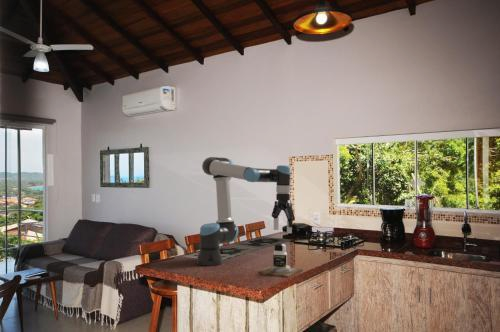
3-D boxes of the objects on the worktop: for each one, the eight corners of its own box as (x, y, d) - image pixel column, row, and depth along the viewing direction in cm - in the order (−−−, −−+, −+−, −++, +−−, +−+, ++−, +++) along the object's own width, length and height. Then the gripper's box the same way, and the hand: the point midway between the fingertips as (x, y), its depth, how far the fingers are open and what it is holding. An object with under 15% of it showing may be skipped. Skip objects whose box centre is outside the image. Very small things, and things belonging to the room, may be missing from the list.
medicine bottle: (273, 267, 197) (273, 245, 198) (274, 264, 204) (274, 242, 205) (286, 268, 196) (286, 245, 197) (287, 265, 203) (286, 243, 204)
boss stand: (258, 273, 197) (258, 267, 197) (274, 266, 212) (274, 261, 213) (288, 277, 188) (288, 271, 188) (302, 270, 203) (302, 265, 203)
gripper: (301, 194, 195) (301, 234, 194) (277, 192, 217) (276, 228, 216) (290, 194, 192) (289, 235, 191) (266, 192, 214) (265, 228, 213)
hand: (282, 231), depth 204 cm, fingers open, 13 cm apart
